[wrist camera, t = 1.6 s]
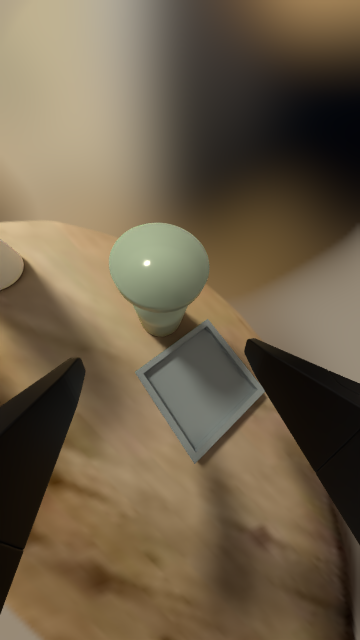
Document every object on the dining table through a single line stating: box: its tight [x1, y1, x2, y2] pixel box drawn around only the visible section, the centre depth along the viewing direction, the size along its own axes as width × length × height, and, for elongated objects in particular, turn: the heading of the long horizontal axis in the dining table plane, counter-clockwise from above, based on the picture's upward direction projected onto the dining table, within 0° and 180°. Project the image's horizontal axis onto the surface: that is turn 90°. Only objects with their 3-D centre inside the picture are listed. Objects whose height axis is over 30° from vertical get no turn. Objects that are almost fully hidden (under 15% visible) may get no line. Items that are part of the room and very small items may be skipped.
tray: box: [135, 319, 265, 464], centre depth 19 cm, size 11×11×2 cm
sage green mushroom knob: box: [109, 223, 209, 337], centre depth 16 cm, size 7×7×12 cm
